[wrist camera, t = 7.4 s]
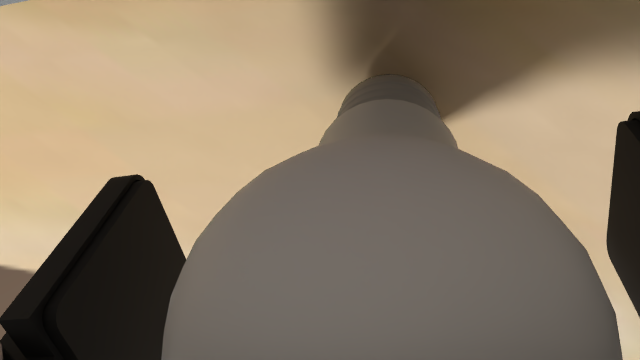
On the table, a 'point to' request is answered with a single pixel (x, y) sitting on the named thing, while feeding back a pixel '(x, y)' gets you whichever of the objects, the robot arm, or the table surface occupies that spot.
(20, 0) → the panel
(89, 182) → the table surface
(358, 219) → the lightbulb
